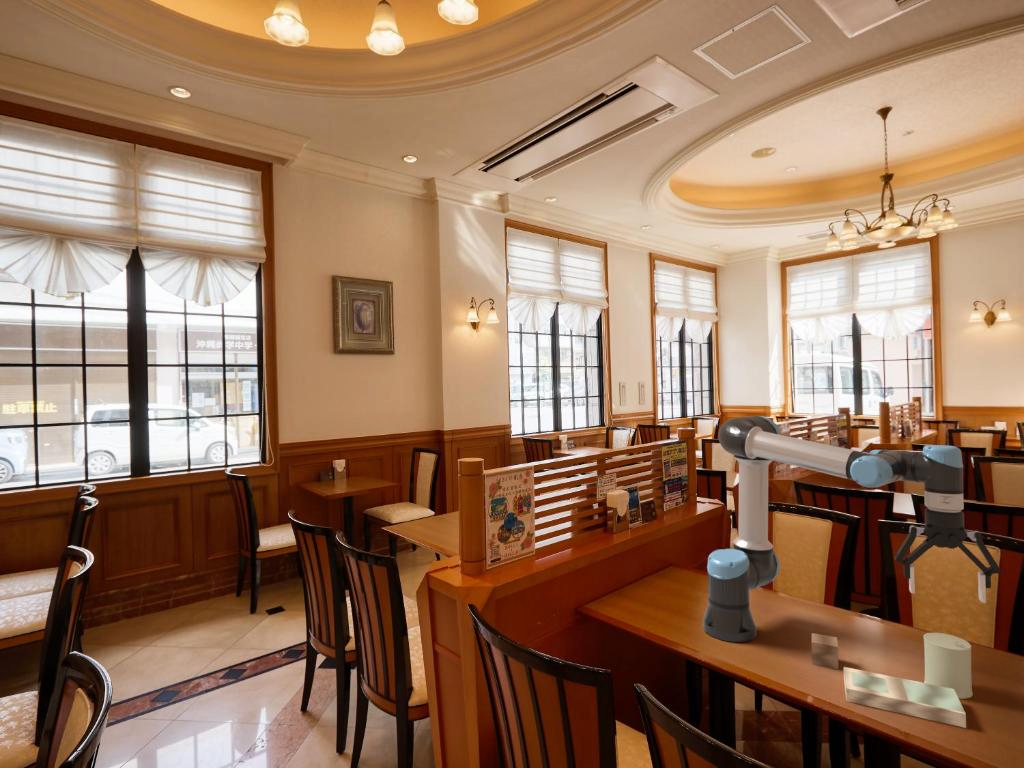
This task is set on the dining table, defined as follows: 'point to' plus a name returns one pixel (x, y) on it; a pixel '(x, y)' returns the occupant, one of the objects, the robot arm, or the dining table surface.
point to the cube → (824, 651)
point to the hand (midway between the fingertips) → (946, 596)
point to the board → (904, 696)
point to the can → (948, 663)
